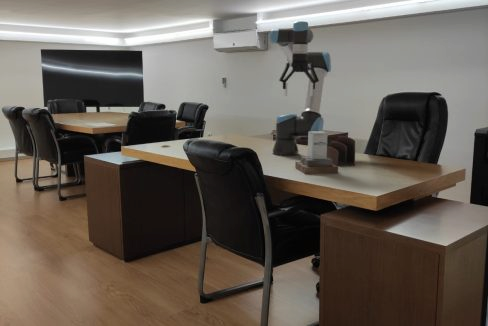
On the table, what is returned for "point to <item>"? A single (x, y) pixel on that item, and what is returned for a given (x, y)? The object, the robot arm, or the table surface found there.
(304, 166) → the riser
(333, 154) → the letter holder
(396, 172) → the table surface
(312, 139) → the supplement box
